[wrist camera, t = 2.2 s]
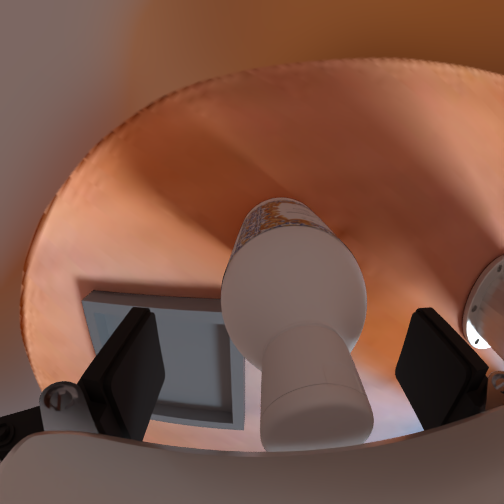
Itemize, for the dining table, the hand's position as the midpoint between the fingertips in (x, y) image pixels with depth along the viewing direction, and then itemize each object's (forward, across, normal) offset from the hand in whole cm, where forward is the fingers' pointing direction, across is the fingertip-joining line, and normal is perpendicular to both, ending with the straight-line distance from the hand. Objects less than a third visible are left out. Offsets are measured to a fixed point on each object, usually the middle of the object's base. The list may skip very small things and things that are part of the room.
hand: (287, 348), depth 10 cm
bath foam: (+16, -1, 0) cm, 16 cm away
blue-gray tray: (+16, +10, +14) cm, 24 cm away
